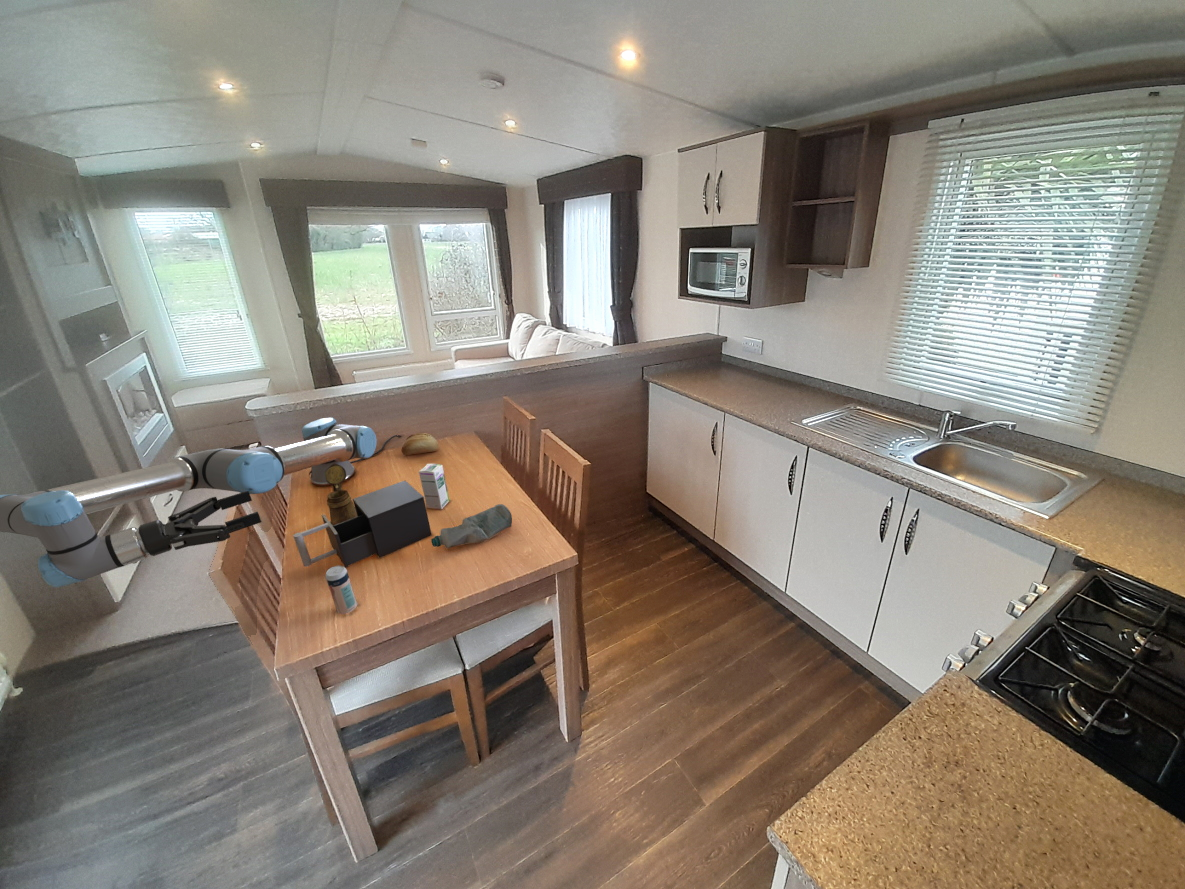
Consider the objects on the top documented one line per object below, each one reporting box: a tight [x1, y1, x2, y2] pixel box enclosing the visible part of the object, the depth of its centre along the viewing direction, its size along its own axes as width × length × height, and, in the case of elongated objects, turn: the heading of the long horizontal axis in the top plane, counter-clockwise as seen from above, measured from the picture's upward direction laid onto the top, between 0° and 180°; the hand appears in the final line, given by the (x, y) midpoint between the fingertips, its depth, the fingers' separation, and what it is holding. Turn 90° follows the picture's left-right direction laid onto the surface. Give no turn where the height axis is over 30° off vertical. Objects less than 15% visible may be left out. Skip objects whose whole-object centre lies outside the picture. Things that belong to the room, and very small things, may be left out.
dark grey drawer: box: [292, 513, 377, 569], centre depth 136 cm, size 24×13×12 cm, turn 132°
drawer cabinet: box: [352, 480, 433, 559], centre depth 144 cm, size 16×14×14 cm
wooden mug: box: [325, 463, 357, 526], centre depth 153 cm, size 9×14×18 cm, turn 23°
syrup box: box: [418, 463, 450, 510], centre depth 160 cm, size 6×6×14 cm
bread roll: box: [400, 432, 440, 456], centre depth 200 cm, size 10×15×8 cm, turn 112°
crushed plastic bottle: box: [430, 503, 513, 550], centre depth 144 cm, size 13×7×25 cm
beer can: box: [324, 565, 358, 615], centre depth 117 cm, size 5×5×12 cm
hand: (255, 505), depth 119 cm, fingers open, 13 cm apart
